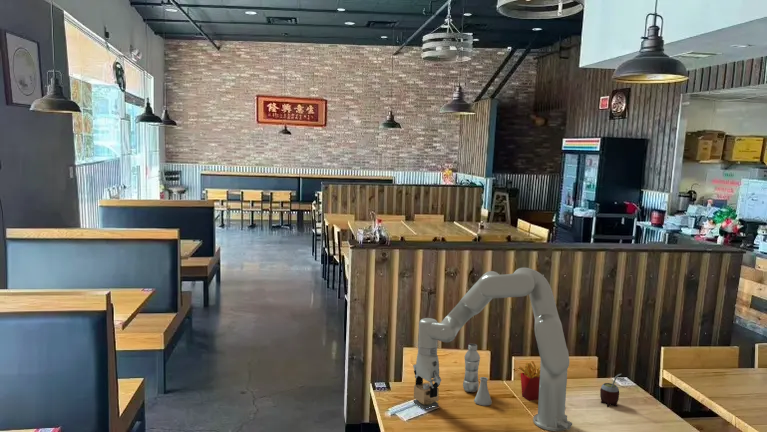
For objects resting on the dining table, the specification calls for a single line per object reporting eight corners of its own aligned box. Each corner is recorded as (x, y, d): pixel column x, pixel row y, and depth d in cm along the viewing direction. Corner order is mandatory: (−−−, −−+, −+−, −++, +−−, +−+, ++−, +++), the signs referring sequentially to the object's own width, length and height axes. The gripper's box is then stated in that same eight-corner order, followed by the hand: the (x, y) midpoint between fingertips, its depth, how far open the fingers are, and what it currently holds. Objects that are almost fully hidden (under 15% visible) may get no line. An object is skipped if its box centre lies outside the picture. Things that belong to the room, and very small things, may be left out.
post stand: (438, 406, 207) (438, 386, 207) (423, 409, 204) (424, 389, 203) (427, 399, 213) (428, 380, 213) (413, 402, 210) (414, 383, 209)
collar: (438, 400, 207) (438, 388, 207) (423, 404, 204) (424, 391, 203) (427, 394, 213) (428, 382, 213) (413, 397, 210) (414, 385, 209)
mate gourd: (601, 399, 219) (603, 364, 218) (621, 404, 215) (624, 368, 214) (598, 405, 212) (600, 369, 211) (619, 410, 208) (621, 373, 207)
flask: (492, 407, 208) (493, 382, 207) (473, 405, 210) (474, 380, 209) (491, 399, 215) (493, 376, 214) (474, 397, 217) (475, 374, 216)
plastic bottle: (459, 389, 225) (461, 343, 223) (472, 387, 228) (474, 341, 226) (468, 395, 219) (470, 348, 217) (481, 392, 222) (483, 346, 220)
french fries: (542, 400, 216) (544, 364, 215) (525, 403, 213) (527, 366, 212) (528, 392, 224) (530, 357, 223) (512, 394, 221) (514, 359, 220)
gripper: (448, 355, 202) (447, 398, 203) (422, 342, 216) (421, 383, 218) (433, 358, 198) (431, 402, 199) (407, 345, 212) (406, 386, 214)
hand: (426, 392), depth 208 cm, fingers open, 9 cm apart
